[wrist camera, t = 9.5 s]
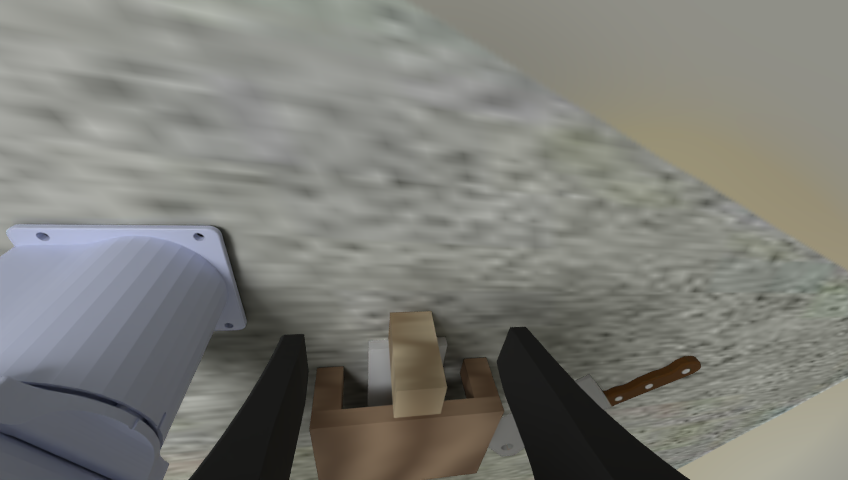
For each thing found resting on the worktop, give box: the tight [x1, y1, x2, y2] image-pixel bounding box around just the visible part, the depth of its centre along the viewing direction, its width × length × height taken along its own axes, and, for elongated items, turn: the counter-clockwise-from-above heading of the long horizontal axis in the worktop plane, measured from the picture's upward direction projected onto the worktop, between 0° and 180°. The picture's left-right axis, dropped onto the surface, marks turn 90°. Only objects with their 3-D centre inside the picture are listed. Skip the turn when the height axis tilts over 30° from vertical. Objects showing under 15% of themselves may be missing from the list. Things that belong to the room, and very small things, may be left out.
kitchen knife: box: [488, 356, 701, 456], centre depth 36 cm, size 24×1×10 cm
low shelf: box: [310, 358, 504, 480], centre depth 29 cm, size 14×11×5 cm
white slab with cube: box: [368, 311, 447, 418], centre depth 27 cm, size 6×16×6 cm, turn 174°
